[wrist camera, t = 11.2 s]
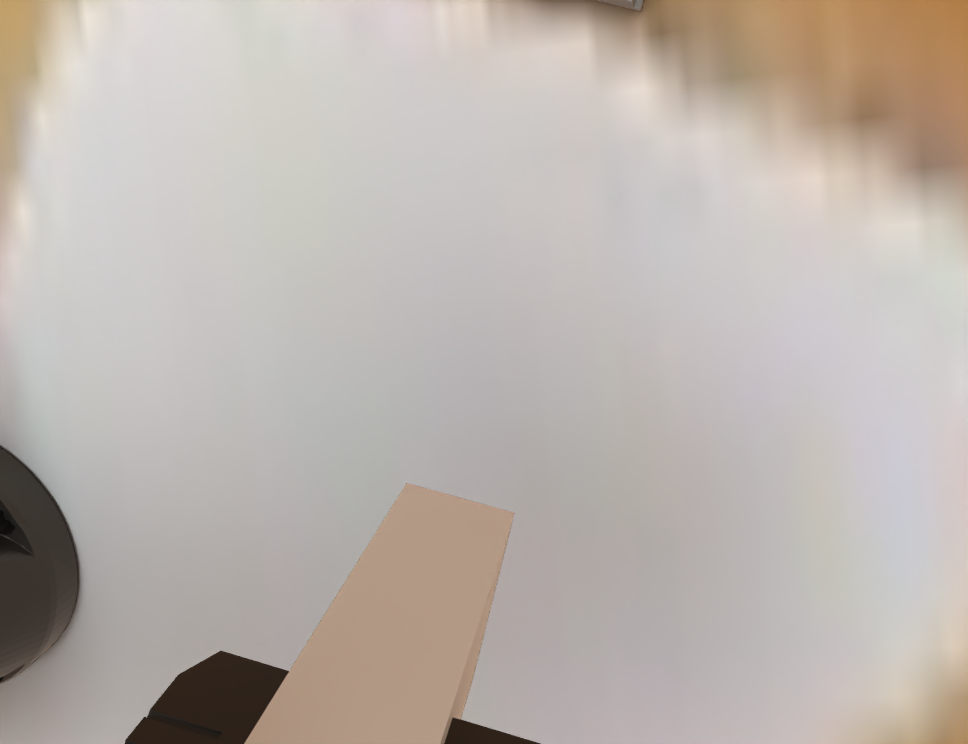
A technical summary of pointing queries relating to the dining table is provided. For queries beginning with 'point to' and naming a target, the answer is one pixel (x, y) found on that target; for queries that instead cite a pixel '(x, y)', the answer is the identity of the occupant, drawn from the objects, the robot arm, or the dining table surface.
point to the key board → (626, 3)
